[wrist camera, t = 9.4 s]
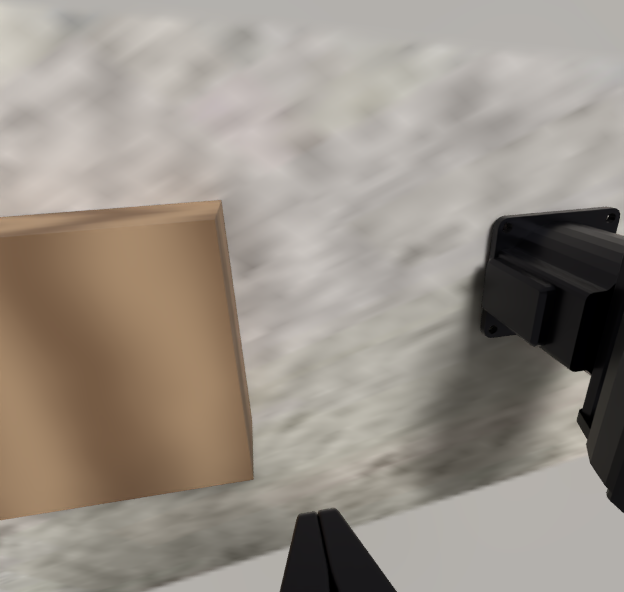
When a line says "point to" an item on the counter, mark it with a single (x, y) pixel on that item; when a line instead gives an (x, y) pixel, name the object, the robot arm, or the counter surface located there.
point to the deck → (118, 357)
